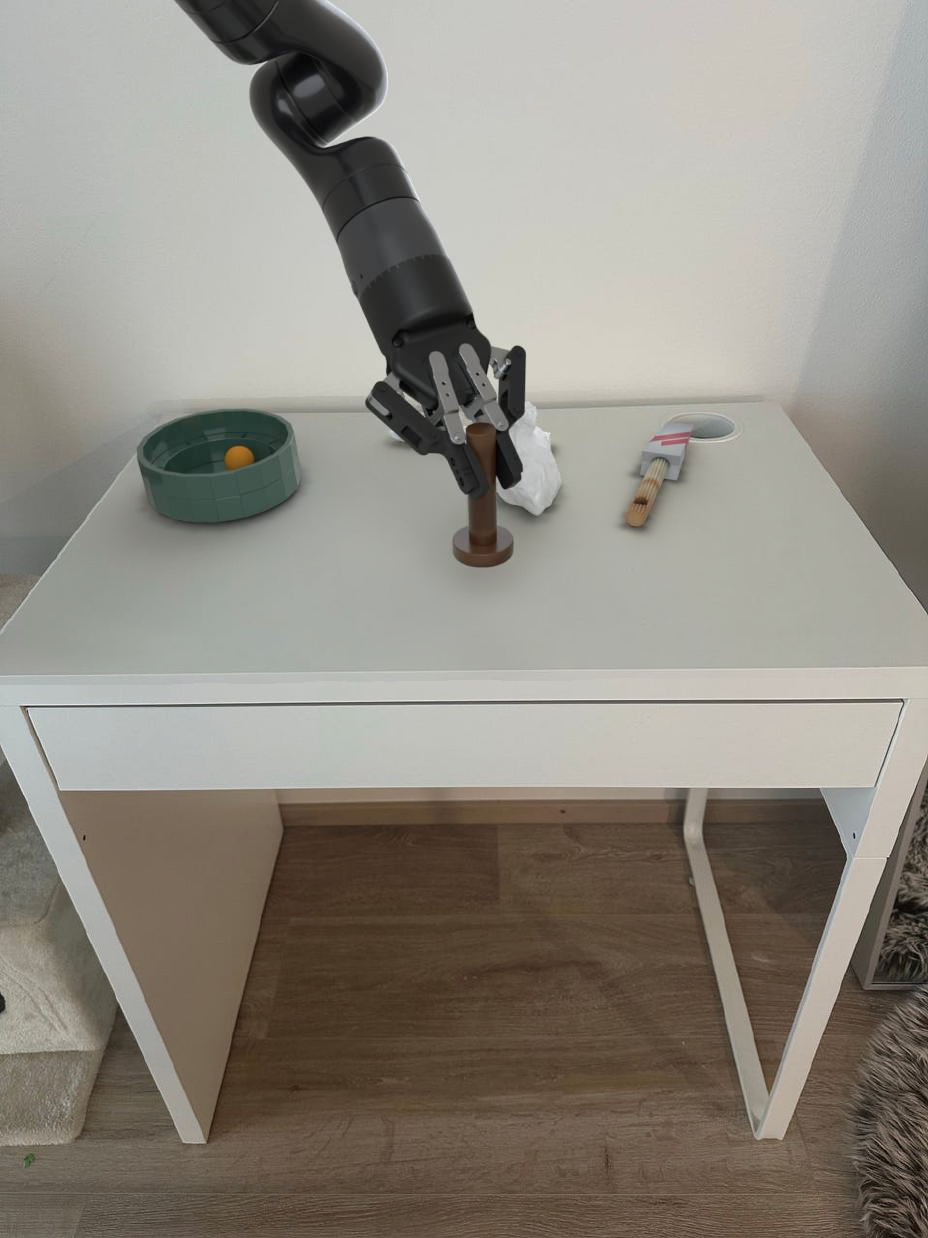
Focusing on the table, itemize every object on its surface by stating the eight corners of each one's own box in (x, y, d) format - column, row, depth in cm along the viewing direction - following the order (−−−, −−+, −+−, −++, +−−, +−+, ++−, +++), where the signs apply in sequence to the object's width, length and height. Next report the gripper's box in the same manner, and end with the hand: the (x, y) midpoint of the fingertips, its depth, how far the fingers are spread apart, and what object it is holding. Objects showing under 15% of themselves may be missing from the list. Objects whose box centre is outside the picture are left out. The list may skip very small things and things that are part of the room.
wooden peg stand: (503, 572, 71) (502, 446, 65) (444, 562, 73) (437, 438, 67) (521, 540, 75) (521, 418, 69) (464, 531, 76) (460, 411, 70)
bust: (527, 486, 98) (459, 405, 94) (587, 447, 95) (518, 361, 90) (517, 546, 89) (440, 459, 84) (582, 506, 85) (506, 413, 81)
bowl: (254, 537, 88) (244, 485, 84) (118, 515, 92) (104, 464, 89) (326, 465, 99) (319, 417, 96) (202, 448, 103) (192, 401, 100)
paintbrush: (700, 412, 99) (655, 509, 85) (697, 436, 101) (653, 535, 86) (664, 407, 100) (614, 502, 86) (662, 431, 102) (612, 527, 88)
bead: (247, 482, 95) (242, 455, 94) (222, 478, 96) (216, 452, 94) (262, 469, 98) (257, 442, 96) (237, 465, 98) (231, 439, 97)
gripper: (332, 269, 64) (433, 499, 62) (500, 235, 69) (596, 445, 68) (309, 325, 70) (400, 534, 69) (464, 290, 76) (551, 482, 75)
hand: (497, 489), depth 69 cm, fingers closed on wooden peg stand
